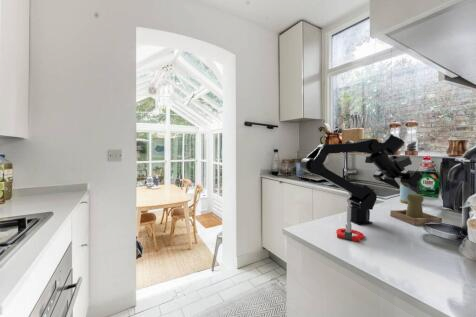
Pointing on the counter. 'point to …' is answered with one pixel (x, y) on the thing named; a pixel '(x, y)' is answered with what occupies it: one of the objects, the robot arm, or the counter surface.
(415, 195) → the cork
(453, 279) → the counter surface
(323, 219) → the counter surface
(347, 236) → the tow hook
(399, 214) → the tray
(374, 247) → the counter surface
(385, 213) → the counter surface
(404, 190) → the bottle
